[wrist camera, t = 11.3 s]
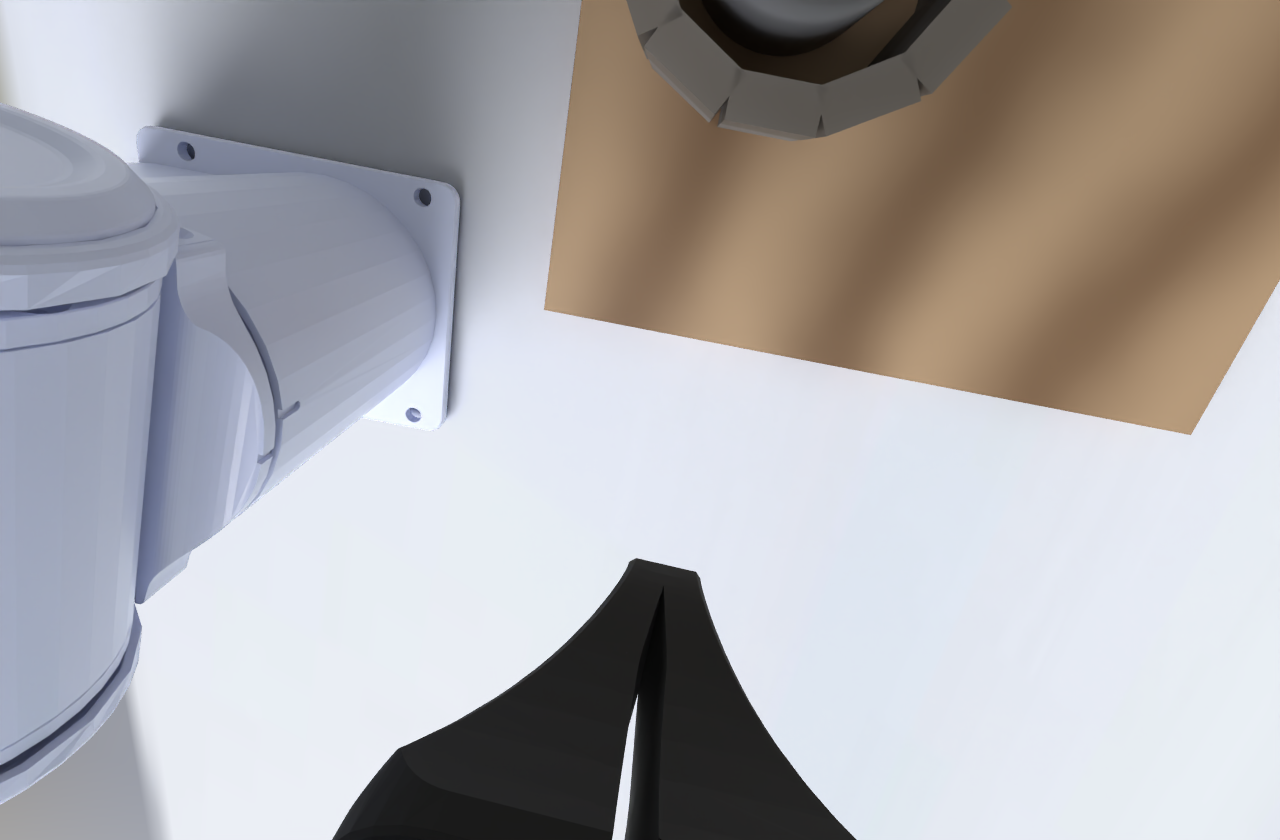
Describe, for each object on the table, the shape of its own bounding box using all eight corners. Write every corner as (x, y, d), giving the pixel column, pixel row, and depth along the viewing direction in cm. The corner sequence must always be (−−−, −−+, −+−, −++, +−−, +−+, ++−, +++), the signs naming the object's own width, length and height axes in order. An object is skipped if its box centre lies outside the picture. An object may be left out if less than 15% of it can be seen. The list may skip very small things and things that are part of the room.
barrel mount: (550, 302, 20) (515, 340, 16) (640, -412, 14) (620, -655, 10) (1167, 422, 20) (1292, 490, 16) (1529, -233, 14) (1884, -397, 10)
